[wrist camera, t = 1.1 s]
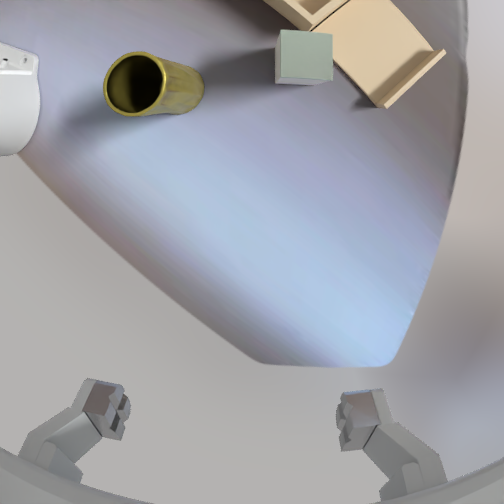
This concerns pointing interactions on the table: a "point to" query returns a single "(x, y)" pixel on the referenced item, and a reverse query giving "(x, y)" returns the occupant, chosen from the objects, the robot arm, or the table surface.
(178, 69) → the vase
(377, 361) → the table surface
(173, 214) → the table surface
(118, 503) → the robot arm
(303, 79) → the carton
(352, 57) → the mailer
